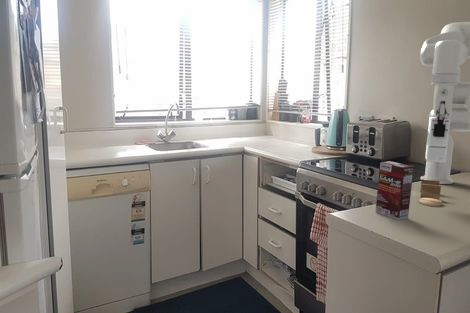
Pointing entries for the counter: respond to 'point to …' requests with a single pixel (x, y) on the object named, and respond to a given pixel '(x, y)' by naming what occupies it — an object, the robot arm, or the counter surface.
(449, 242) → the counter surface
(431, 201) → the disc
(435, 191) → the cradle
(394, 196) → the supplement box
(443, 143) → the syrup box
